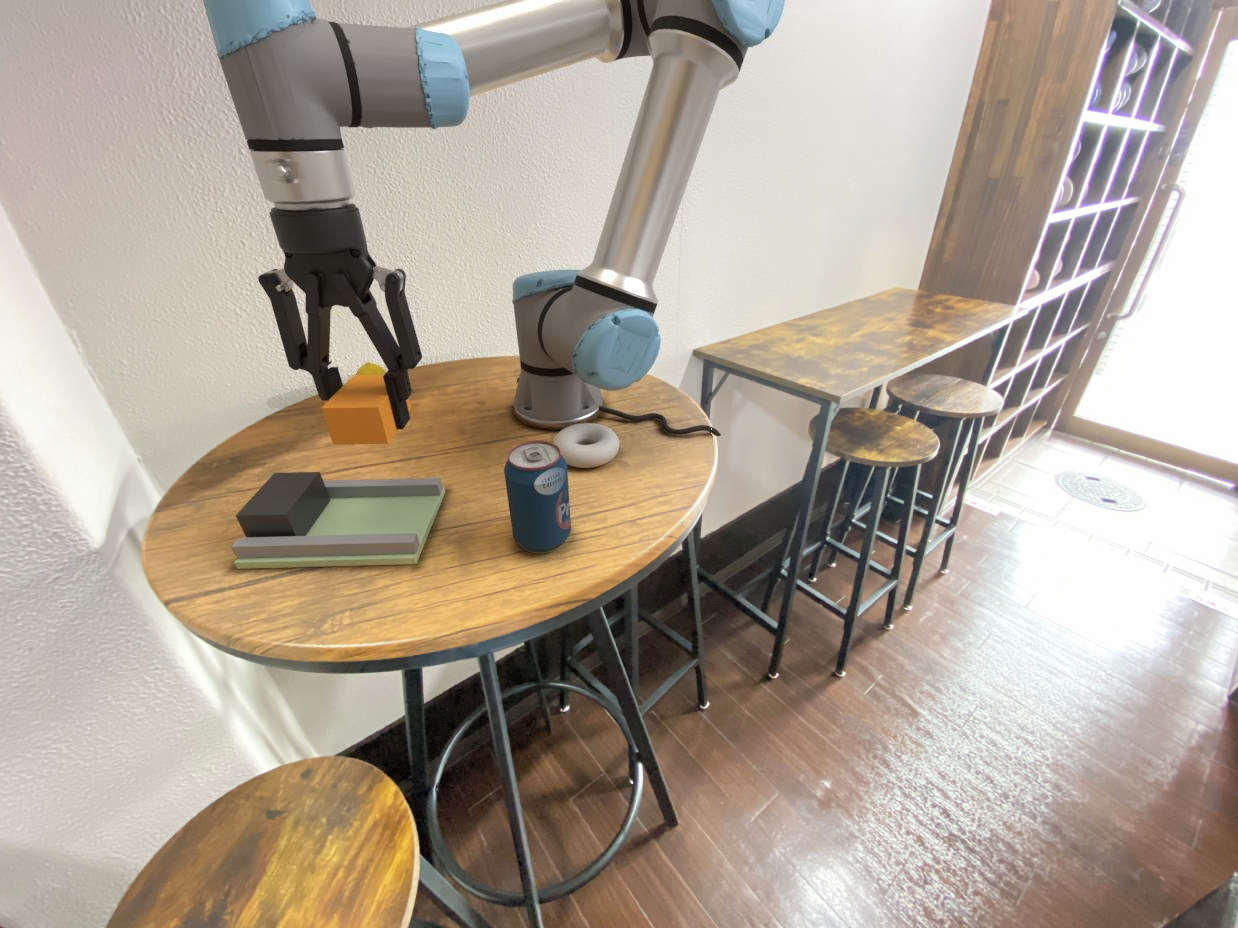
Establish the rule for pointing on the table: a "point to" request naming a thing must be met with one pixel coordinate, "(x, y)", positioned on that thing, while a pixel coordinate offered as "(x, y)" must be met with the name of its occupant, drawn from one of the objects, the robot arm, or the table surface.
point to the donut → (586, 456)
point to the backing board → (336, 521)
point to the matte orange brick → (361, 412)
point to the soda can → (538, 496)
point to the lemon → (371, 369)
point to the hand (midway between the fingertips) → (374, 423)
